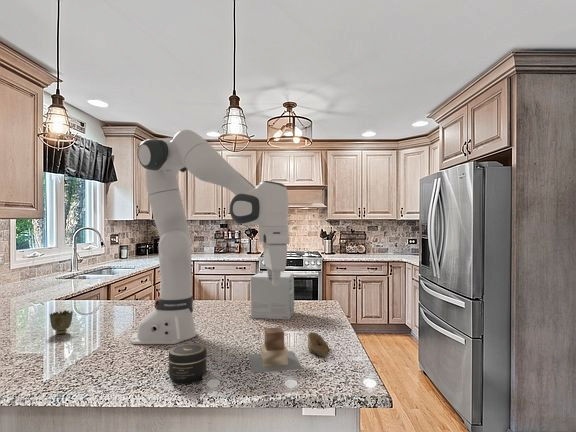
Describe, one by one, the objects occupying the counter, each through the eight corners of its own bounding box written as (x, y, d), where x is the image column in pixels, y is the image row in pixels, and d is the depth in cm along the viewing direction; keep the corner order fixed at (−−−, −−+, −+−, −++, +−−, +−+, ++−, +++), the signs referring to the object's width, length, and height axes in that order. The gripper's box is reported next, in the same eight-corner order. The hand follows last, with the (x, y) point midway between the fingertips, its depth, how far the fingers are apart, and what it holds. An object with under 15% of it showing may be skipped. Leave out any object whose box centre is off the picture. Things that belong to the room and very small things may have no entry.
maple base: (263, 366, 104) (263, 352, 104) (260, 357, 111) (260, 344, 111) (288, 364, 106) (287, 350, 106) (283, 355, 113) (283, 342, 113)
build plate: (252, 376, 100) (252, 372, 100) (248, 357, 114) (248, 354, 114) (302, 372, 103) (302, 368, 103) (292, 354, 117) (292, 351, 117)
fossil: (309, 342, 110) (309, 326, 120) (300, 352, 111) (300, 335, 121) (332, 361, 111) (330, 343, 121) (322, 370, 112) (321, 352, 122)
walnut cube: (266, 350, 106) (266, 333, 106) (264, 345, 111) (264, 328, 111) (284, 349, 107) (284, 332, 107) (281, 343, 111) (281, 327, 112)
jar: (204, 384, 96) (203, 354, 96) (164, 386, 95) (164, 356, 95) (209, 369, 105) (209, 342, 106) (173, 370, 105) (172, 343, 105)
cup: (77, 332, 142) (77, 311, 142) (58, 337, 135) (58, 315, 135) (64, 330, 145) (64, 309, 145) (45, 335, 138) (45, 313, 138)
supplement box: (294, 312, 170) (294, 272, 170) (289, 320, 157) (289, 277, 157) (258, 311, 173) (257, 272, 173) (250, 318, 160) (250, 276, 160)
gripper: (258, 235, 119) (258, 278, 118) (267, 237, 98) (267, 290, 98) (278, 235, 120) (278, 278, 120) (290, 237, 100) (290, 289, 99)
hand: (273, 283), depth 109 cm, fingers open, 8 cm apart
